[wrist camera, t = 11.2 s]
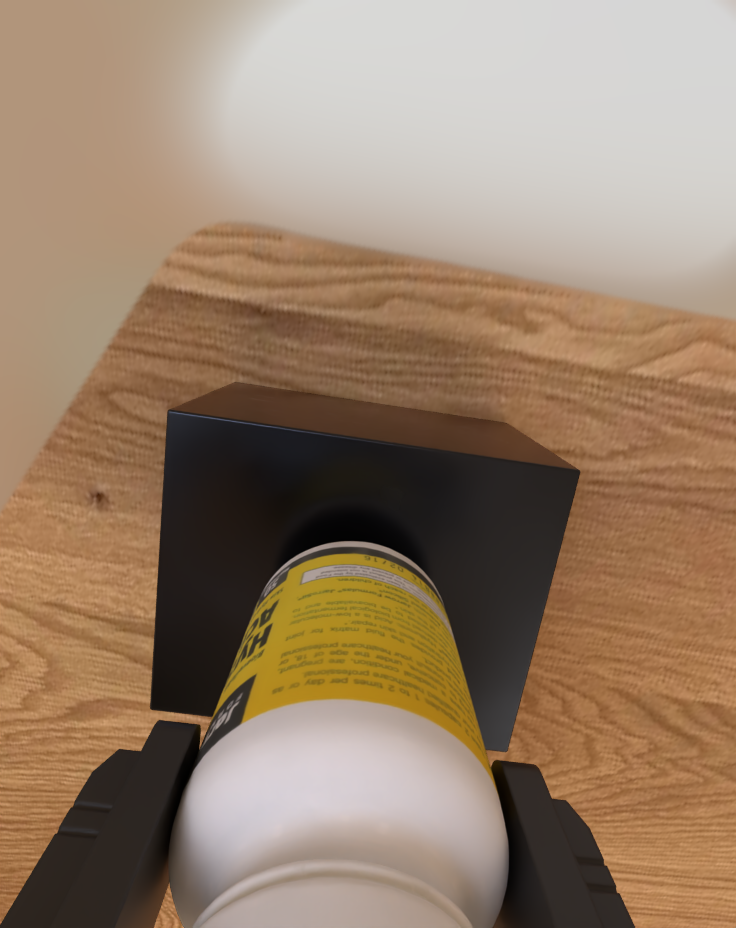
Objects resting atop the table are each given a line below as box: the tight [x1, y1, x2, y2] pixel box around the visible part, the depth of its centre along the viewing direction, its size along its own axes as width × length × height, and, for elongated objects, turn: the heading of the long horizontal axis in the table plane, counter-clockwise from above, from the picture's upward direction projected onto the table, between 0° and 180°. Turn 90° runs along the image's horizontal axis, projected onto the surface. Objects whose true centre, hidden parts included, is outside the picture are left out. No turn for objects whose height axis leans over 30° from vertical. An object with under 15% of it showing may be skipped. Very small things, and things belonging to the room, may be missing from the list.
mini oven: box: [150, 382, 580, 752], centre depth 20 cm, size 13×10×8 cm
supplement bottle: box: [168, 541, 509, 928], centre depth 10 cm, size 5×5×10 cm
